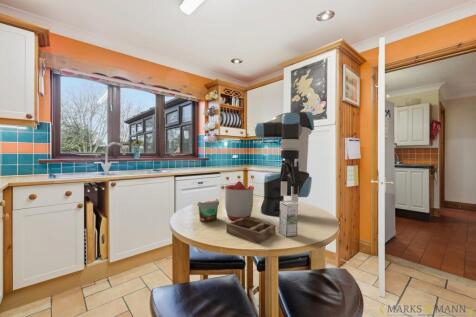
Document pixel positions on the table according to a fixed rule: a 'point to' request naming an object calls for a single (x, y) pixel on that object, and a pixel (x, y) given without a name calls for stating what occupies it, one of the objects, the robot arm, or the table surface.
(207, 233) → the table surface
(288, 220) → the syrup box
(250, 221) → the socket block
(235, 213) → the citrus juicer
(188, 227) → the table surface
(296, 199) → the robot arm
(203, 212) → the food container
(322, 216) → the table surface
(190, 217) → the table surface
